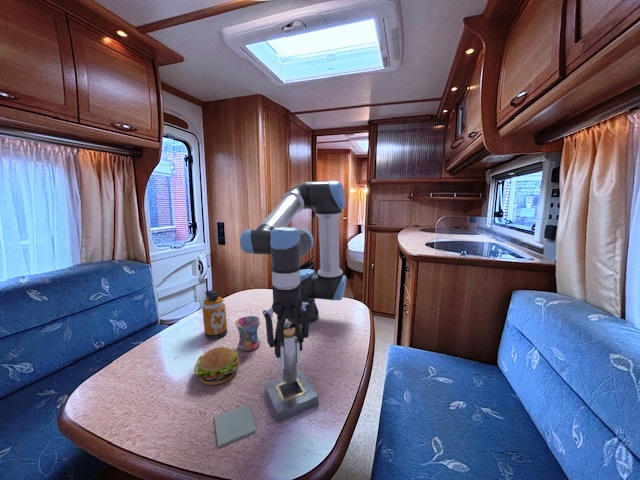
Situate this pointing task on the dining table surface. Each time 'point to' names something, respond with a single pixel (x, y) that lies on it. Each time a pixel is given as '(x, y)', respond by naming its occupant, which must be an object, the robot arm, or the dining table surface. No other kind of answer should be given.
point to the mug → (248, 332)
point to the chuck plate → (291, 404)
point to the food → (217, 365)
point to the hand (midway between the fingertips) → (289, 363)
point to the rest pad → (234, 425)
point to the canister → (214, 315)
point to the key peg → (289, 353)
